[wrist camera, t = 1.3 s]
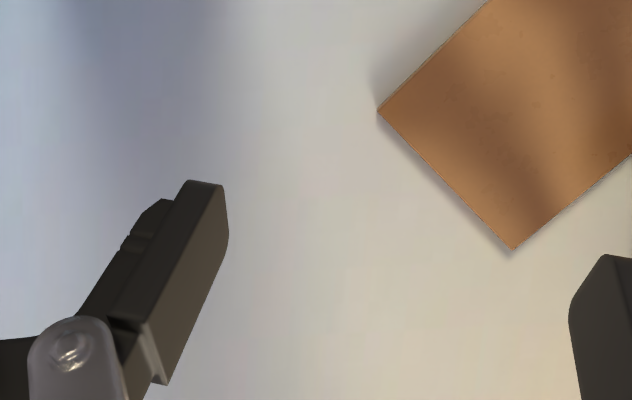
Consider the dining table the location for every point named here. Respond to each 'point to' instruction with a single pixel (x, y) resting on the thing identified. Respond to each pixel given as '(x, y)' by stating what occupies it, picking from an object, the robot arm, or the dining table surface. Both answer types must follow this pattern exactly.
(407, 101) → the cork mat
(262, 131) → the dining table surface
